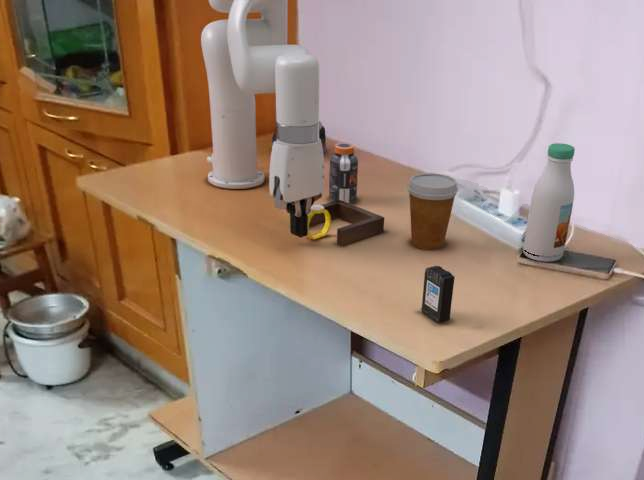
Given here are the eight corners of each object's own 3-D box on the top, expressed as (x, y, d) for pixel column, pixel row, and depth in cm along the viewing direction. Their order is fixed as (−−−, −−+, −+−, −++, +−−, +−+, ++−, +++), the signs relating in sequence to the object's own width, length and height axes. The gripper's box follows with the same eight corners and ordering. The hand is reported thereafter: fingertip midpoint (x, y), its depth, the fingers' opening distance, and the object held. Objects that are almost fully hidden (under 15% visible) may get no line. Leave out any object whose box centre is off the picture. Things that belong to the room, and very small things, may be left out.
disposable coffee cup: (457, 238, 167) (464, 176, 159) (445, 256, 159) (451, 192, 152) (411, 231, 169) (415, 169, 161) (397, 248, 162) (401, 184, 154)
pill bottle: (353, 206, 179) (355, 150, 172) (326, 203, 180) (327, 147, 172) (359, 196, 183) (361, 142, 176) (332, 194, 184) (333, 139, 177)
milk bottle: (538, 265, 158) (558, 154, 145) (514, 250, 163) (531, 142, 151) (571, 259, 161) (593, 150, 148) (546, 244, 166) (565, 138, 154)
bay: (297, 226, 168) (296, 211, 166) (338, 213, 175) (338, 199, 173) (342, 246, 161) (342, 230, 159) (383, 232, 168) (384, 217, 166)
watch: (324, 232, 167) (324, 201, 163) (333, 236, 165) (334, 205, 161) (300, 238, 163) (300, 208, 160) (309, 243, 162) (310, 212, 158)
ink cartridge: (420, 312, 140) (424, 266, 135) (431, 309, 141) (436, 263, 136) (438, 324, 137) (443, 277, 132) (449, 321, 138) (454, 275, 133)
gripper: (315, 121, 155) (315, 220, 166) (251, 135, 147) (255, 238, 158) (343, 130, 151) (341, 231, 162) (279, 144, 143) (281, 249, 154)
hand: (299, 234), depth 160 cm, fingers closed
